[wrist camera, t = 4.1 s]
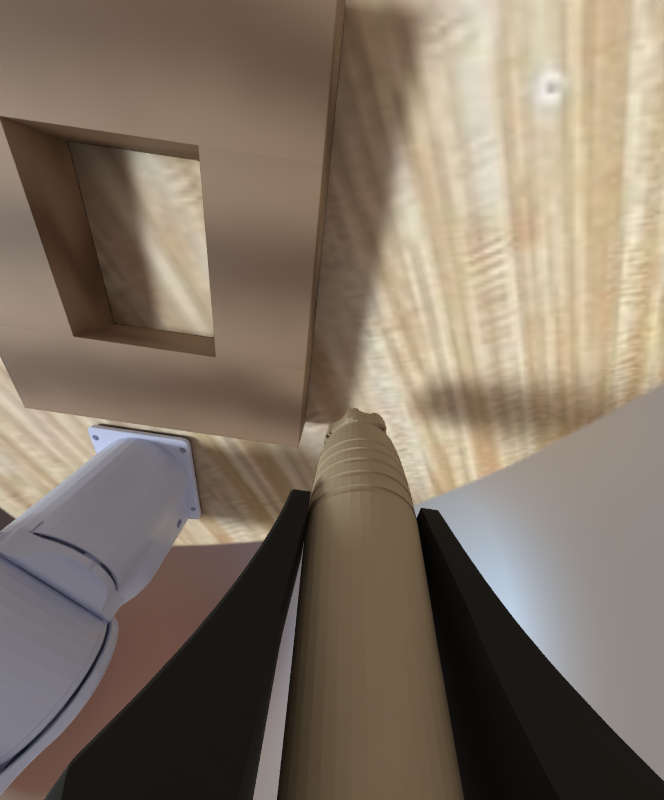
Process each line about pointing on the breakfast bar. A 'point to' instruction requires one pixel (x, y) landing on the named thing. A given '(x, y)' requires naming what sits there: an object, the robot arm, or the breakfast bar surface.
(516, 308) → the breakfast bar surface
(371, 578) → the handle
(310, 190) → the socket plate
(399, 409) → the breakfast bar surface
